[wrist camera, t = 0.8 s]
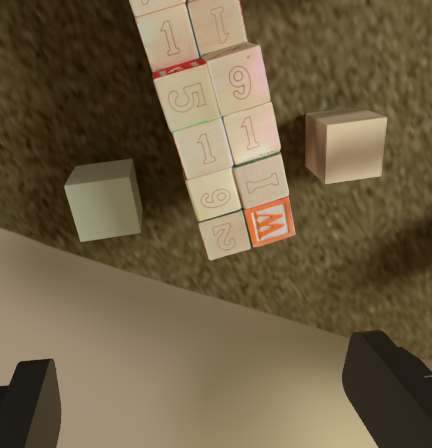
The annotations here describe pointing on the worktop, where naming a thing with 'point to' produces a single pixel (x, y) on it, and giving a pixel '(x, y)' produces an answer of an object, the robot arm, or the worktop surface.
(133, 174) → the sage cube
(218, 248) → the stack of blocks
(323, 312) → the worktop surface
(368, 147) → the birch cube
